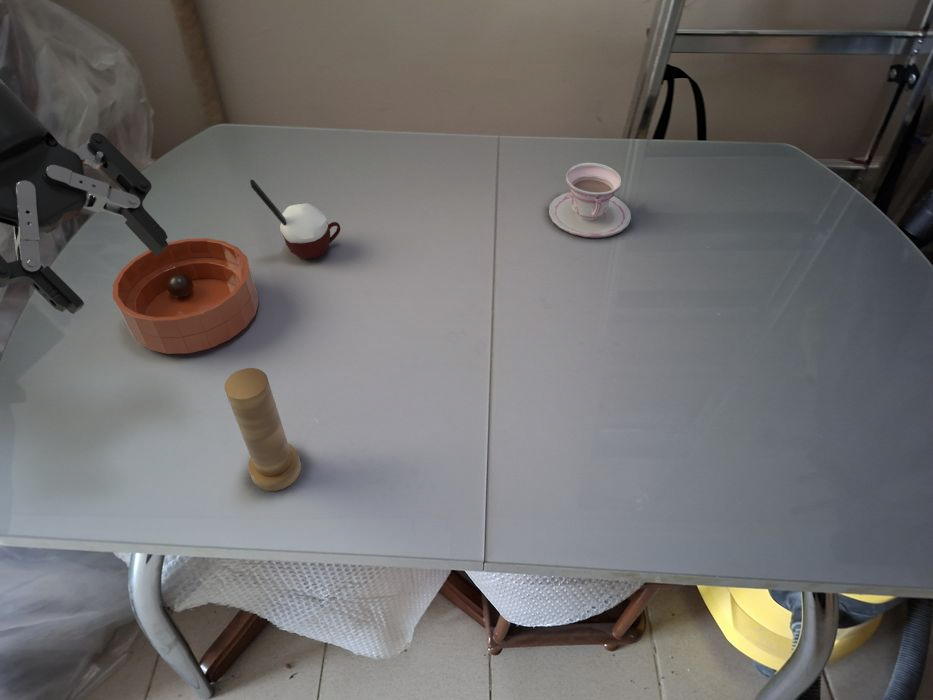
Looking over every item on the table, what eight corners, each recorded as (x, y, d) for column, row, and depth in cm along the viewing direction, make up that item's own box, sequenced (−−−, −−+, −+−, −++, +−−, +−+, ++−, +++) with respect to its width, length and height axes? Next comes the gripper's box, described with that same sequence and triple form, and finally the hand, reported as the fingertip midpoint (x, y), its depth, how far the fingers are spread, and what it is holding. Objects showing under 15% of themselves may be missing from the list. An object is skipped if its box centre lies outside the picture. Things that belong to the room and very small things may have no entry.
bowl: (158, 378, 74) (140, 340, 69) (113, 307, 82) (94, 269, 78) (281, 321, 80) (271, 283, 76) (228, 261, 89) (216, 224, 84)
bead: (176, 306, 81) (169, 287, 79) (167, 293, 83) (159, 275, 80) (200, 296, 82) (193, 277, 80) (190, 284, 84) (183, 265, 82)
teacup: (543, 194, 101) (547, 157, 96) (620, 192, 101) (627, 155, 97) (554, 240, 92) (559, 202, 88) (639, 238, 93) (647, 200, 88)
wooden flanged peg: (265, 500, 63) (231, 413, 53) (243, 467, 65) (207, 379, 56) (310, 473, 65) (284, 386, 56) (286, 443, 67) (259, 354, 58)
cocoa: (344, 238, 92) (332, 161, 84) (337, 266, 88) (324, 187, 79) (277, 237, 92) (258, 160, 84) (267, 265, 88) (246, 186, 80)
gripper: (-141, 129, 42) (55, 319, 47) (51, 50, 51) (201, 217, 56) (-134, 177, 48) (41, 342, 53) (38, 99, 57) (175, 247, 61)
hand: (123, 278), depth 54 cm, fingers open, 8 cm apart
